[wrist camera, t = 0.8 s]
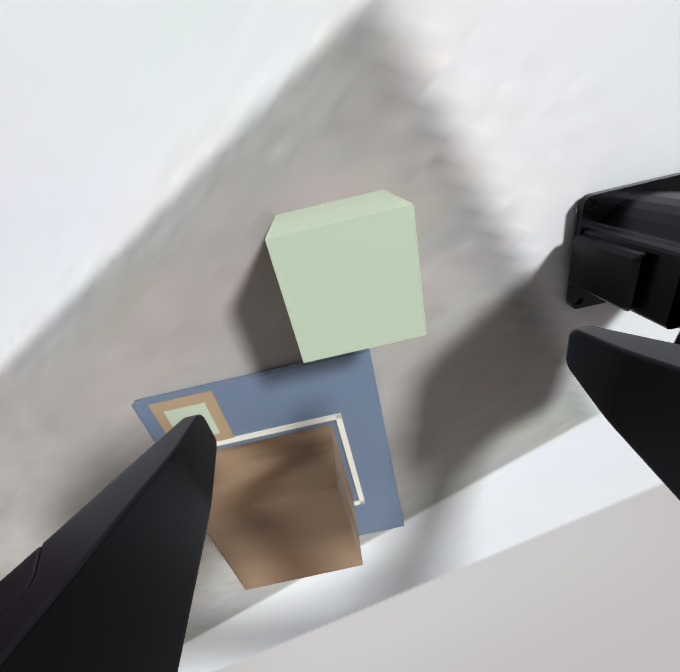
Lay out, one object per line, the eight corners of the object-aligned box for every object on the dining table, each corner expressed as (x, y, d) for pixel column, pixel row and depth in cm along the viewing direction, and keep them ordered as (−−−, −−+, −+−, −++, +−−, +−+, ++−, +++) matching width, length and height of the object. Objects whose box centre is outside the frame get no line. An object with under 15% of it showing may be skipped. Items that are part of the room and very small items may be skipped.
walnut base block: (331, 424, 23) (337, 487, 19) (353, 498, 27) (362, 564, 23) (217, 449, 24) (197, 518, 19) (255, 519, 27) (245, 589, 23)
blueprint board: (368, 347, 21) (370, 353, 21) (402, 520, 30) (404, 528, 29) (135, 400, 22) (130, 407, 21) (235, 556, 30) (234, 564, 30)
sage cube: (382, 189, 17) (413, 204, 12) (396, 290, 20) (426, 335, 15) (275, 214, 17) (264, 239, 12) (303, 311, 20) (303, 363, 15)
